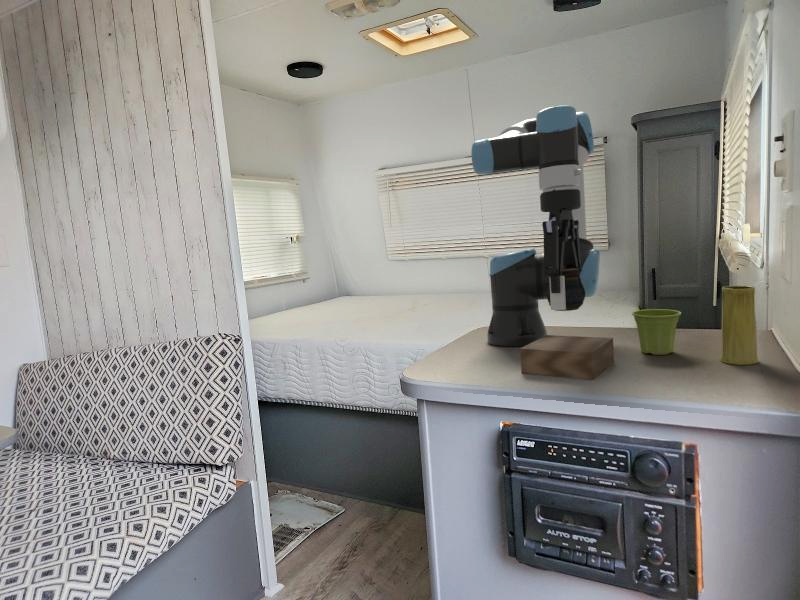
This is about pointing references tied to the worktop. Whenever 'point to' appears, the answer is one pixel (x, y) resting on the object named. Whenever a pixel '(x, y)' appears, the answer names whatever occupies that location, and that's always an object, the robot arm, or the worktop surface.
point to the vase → (738, 326)
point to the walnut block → (567, 356)
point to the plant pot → (656, 330)
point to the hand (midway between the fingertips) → (565, 306)
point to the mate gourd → (571, 289)
